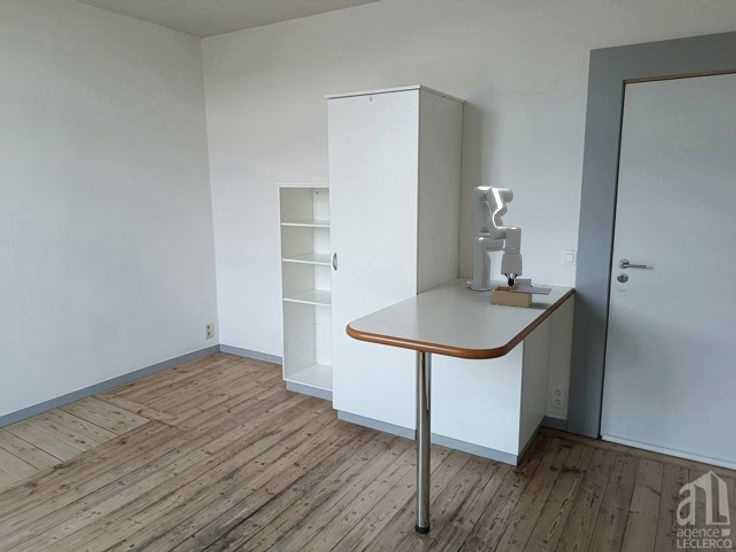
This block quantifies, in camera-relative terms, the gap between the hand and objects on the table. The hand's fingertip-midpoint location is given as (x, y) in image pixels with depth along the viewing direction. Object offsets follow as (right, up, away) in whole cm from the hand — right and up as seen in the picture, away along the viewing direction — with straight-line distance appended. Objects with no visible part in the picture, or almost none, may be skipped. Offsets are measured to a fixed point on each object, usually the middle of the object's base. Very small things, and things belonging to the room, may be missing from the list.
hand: (510, 286), depth 260 cm
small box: (+11, -6, +18) cm, 22 cm away
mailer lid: (+9, -2, -4) cm, 10 cm away
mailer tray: (+1, -9, +1) cm, 9 cm away
